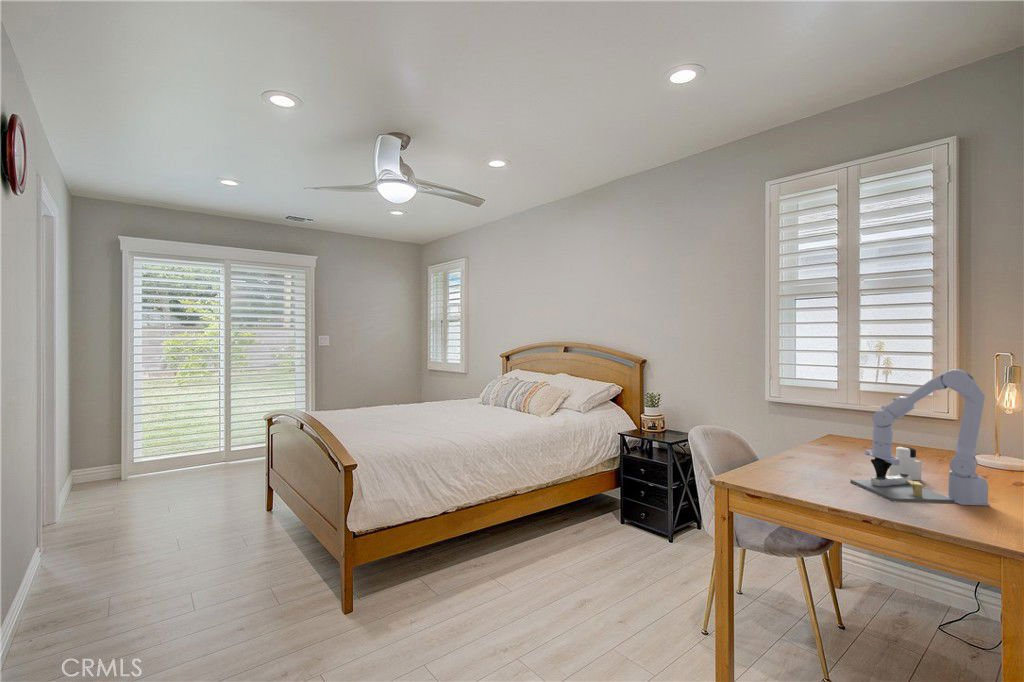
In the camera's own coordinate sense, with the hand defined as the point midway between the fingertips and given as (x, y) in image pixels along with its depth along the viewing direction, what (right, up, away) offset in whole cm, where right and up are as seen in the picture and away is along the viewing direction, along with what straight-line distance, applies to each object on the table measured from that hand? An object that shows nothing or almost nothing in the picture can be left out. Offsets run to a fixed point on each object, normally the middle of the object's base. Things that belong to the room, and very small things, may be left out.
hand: (880, 479), depth 178 cm
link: (+3, -1, -2) cm, 3 cm away
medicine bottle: (+18, -3, +11) cm, 21 cm away
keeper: (+2, -1, -13) cm, 13 cm away
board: (+1, -2, -7) cm, 7 cm away
